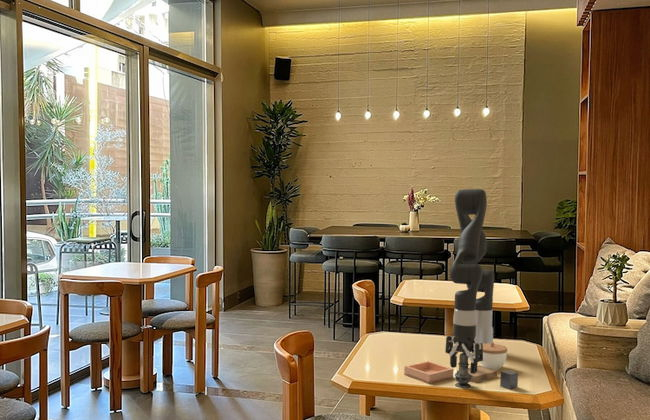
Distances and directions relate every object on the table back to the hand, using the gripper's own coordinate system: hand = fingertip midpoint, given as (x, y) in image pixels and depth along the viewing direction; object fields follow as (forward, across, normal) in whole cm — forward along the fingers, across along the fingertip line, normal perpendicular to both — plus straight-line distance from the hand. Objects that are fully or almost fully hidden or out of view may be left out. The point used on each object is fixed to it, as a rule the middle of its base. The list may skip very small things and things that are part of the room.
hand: (463, 370), depth 213 cm
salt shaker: (+6, 0, 0) cm, 6 cm away
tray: (+5, +14, +2) cm, 15 cm away
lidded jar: (+5, +8, -25) cm, 27 cm away
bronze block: (+6, +4, -12) cm, 14 cm away
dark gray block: (+5, -9, -12) cm, 16 cm away
